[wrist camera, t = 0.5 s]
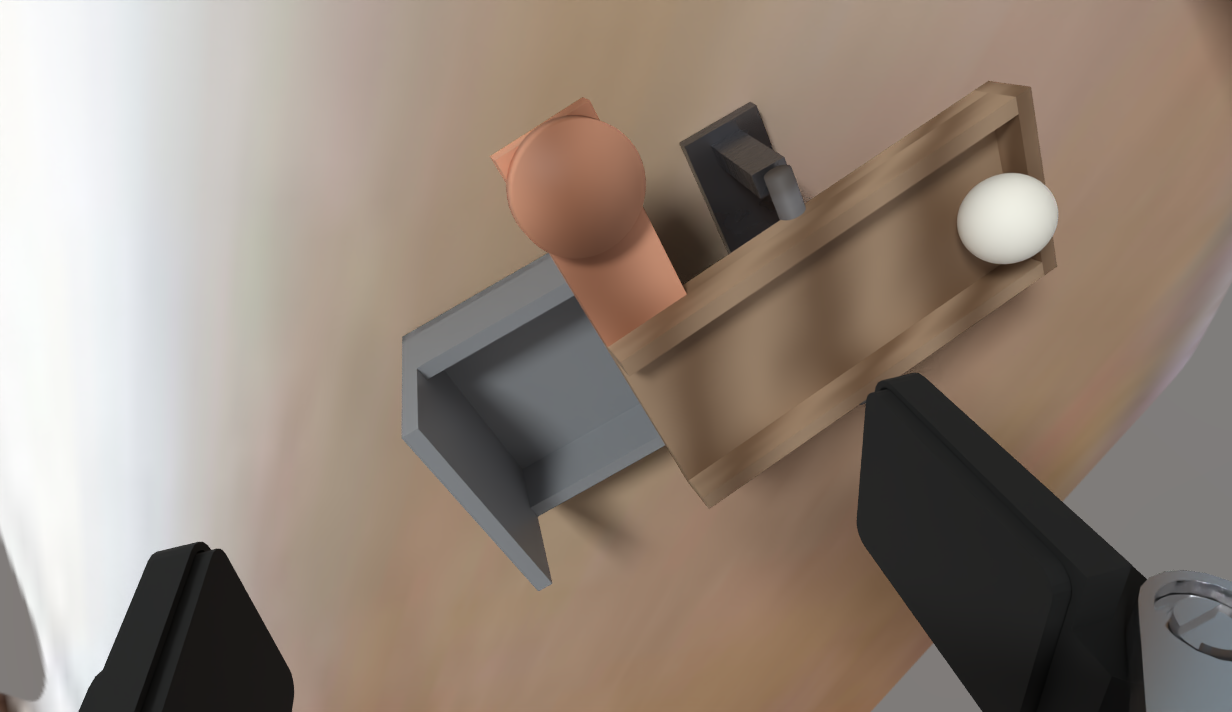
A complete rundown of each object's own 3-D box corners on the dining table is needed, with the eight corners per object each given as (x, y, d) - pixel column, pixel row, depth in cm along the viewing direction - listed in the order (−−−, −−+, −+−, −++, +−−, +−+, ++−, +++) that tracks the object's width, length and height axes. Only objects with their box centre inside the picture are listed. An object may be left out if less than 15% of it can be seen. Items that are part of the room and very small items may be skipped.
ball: (989, 150, 34) (1074, 160, 31) (1002, 221, 36) (1083, 238, 33) (929, 200, 33) (1010, 215, 30) (947, 270, 36) (1024, 291, 32)
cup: (597, 224, 38) (644, 299, 31) (684, 383, 44) (741, 478, 37) (402, 336, 39) (401, 438, 31) (516, 478, 45) (538, 591, 37)
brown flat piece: (937, -140, 29) (996, -152, 26) (1015, 278, 40) (1061, 297, 38) (471, 155, 27) (488, 172, 25) (689, 505, 38) (715, 540, 36)
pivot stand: (750, 102, 37) (804, 130, 32) (832, 324, 45) (887, 375, 40) (679, 142, 37) (722, 178, 32) (774, 357, 45) (821, 412, 40)
